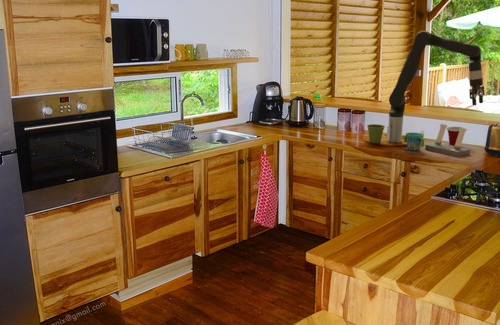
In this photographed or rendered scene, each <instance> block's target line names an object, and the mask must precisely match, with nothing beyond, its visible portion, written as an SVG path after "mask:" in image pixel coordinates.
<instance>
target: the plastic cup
mask: <svg viewBox="0 0 500 325" xmlns="http://www.w3.org/2000/svg"><path fill="white" fill-rule="evenodd" d="M459 128H464V127H463V126H449V127H448V126H447V128H446V130H447V134H448V142H449V144H448V145H452V146H455V144H456V140H457V137H458V134H459V131H460V130H459Z"/></svg>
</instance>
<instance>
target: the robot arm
mask: <svg viewBox="0 0 500 325" xmlns="http://www.w3.org/2000/svg"><path fill="white" fill-rule="evenodd" d="M427 46H430V47H437V48H440V49H443V50H445V51H447V52H448V51H449V52H452V53H456V54H461V55H464V56H467V57H468V60H469V62H468V71H469V72H468V77H469V86H470V87H471V88H469V92H468V93H469V99H470V100H471V101H472V102H471V103H472V106H477V97H478V103H479V104H483V103H484V96H485V94H486V93H485V87H484V80H483V79H484V78H483V72H482V61H481V59H482V53H481V52H482V50H481V47H480V46H479V45H477V44H469V43H465V42H463V41H459V40H455V39H450V38H446V37H441V36H438V35H436V34H433V33H431V32H430V31H427V30H420V31H419V32H417V33H416V35H415V37H414V40H413V43H412V47H411V49H410V51H409V54H408V55H407V58H406V59H405V61H404V63H403V66H402V69H401V71H400V73H399V77H398V79H397V82H396V84H395V87H394V88H393V90H392V92H391V94H390V95H389V98H388V103H389V105H390V109H389V112H388V126H387V129H386V141H387V142H388V141H389V142H388V143H395V142H397V143H401V142H403V141H402V140H403V139H402V138H403V124H404V113H405V108H406V96H405V94H406V91H407V89H408V87H410V84H411V83H412V81H413V80H414V78H415V76H416V74H417V72H418V69H419V67H420V63H421V58H422V54H423V53H424V50H425V49H426V47H427Z"/></svg>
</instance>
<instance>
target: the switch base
mask: <svg viewBox="0 0 500 325" xmlns="http://www.w3.org/2000/svg"><path fill="white" fill-rule="evenodd" d="M441 143H442V144H441V145H438V144H435V142H432V143H427V144H424V148H425V150H427V151H431V152H436V153H440V154H443V155H448V156H451V155H453V157H456V156H457V158H458V156H460V157H464V156H468V155H469V156H470V155H471V149H469V148H465V147H461V149H456V148H454V146H452V145H449V144H446V143H443V142H441Z"/></svg>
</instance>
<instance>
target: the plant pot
mask: <svg viewBox="0 0 500 325" xmlns="http://www.w3.org/2000/svg"><path fill="white" fill-rule="evenodd" d="M366 127H367V130H368V140H369V141H368V142H369V143H371V144H380V143H381V141H382V137H383V133H384V130H385V128H386V126H385V125H384V124H375V123H374V124H372V123H371V124H367V125H366ZM379 142H380V143H379Z"/></svg>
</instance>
